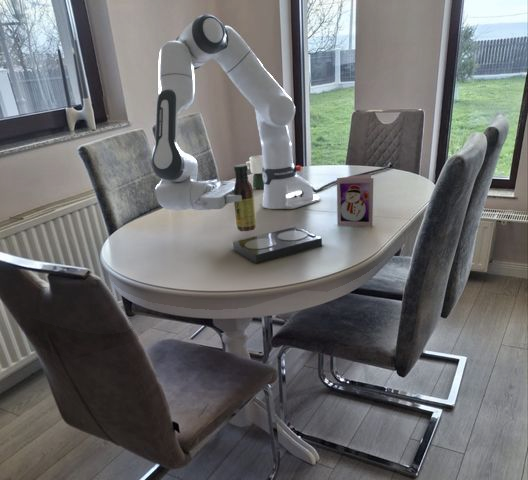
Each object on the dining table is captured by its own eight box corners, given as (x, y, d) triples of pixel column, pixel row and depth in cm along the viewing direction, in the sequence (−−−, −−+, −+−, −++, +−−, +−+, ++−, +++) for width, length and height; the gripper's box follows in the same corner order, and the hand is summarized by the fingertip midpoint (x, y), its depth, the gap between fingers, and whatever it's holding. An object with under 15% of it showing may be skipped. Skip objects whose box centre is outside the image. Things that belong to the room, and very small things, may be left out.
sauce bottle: (236, 227, 166) (229, 164, 156) (255, 225, 166) (249, 162, 156) (237, 233, 160) (230, 167, 150) (257, 231, 160) (251, 165, 150)
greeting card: (336, 226, 166) (336, 178, 158) (342, 219, 171) (342, 173, 164) (371, 227, 162) (372, 178, 154) (376, 220, 167) (377, 173, 160)
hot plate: (295, 234, 162) (295, 225, 160) (321, 246, 150) (321, 236, 149) (233, 250, 154) (232, 241, 152) (256, 263, 142) (255, 254, 140)
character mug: (274, 185, 225) (272, 154, 218) (269, 189, 219) (267, 158, 213) (251, 186, 228) (248, 155, 222) (245, 189, 222) (242, 158, 216)
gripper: (190, 193, 151) (234, 192, 147) (214, 178, 168) (254, 176, 164) (193, 214, 154) (236, 214, 150) (216, 197, 171) (256, 196, 167)
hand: (245, 194), depth 157 cm, fingers closed on sauce bottle, 6 cm apart
